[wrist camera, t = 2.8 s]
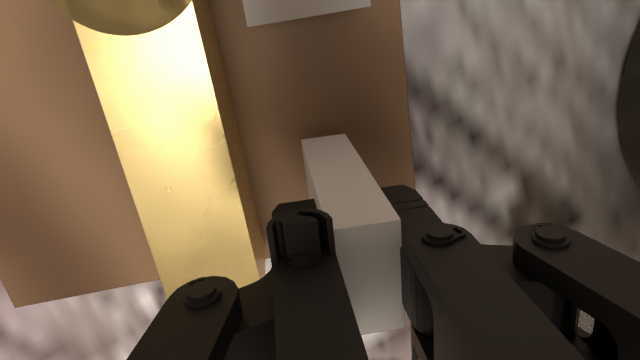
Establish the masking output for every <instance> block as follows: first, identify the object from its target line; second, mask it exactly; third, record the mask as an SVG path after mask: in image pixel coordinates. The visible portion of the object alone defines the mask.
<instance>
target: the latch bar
mask: <svg viewBox="0 0 640 360" xmlns="http://www.w3.org/2000/svg"><path fill="white" fill-rule="evenodd" d="M48 1H49V2H50V3H51V4H52V5H53V6H54V7H55V8H57V9H58V10H59V11H60V12H61V13H63V14H64V15H66V16H67V17H68V18H70V19H71V20H73V23H74V26H75V28H76V31H77V34H78V37H79V40H80V43H81V46H82V49H83V52H84V55H85V58H86V61H87V64H88V67H89V70H90V73H91V76H92V79H93V82H94V84H95V87H96V90H97V93H98V96H99V99H100V102H101V105H102V108H103V111H104V114H105V117H106V120H107V123H108V126H109V129H110V132H111V135H112V137H113V140H114V143H115V146H116V149H117V152H118V155H119V158H120V161H121V164H122V167H123V170H124V173H125V176H126V179H127V182H128V185H129V188H130V190H131V193H132V196H133V199H134V202H135V205H136V208H137V211H138V214H139V217H140V220H141V223H142V226H143V229H144V232H145V235H146V238H147V241H148V244H149V246H150V249H151V252H152V255H153V258H154V261H155V264H156V267H157V270H158V273H159V276H160V279H161V282H162V285H163V288H164V291H165V294H166V297H167V299H168V298H169V296H170V295H171V294H172V293H173V292H174V291H175V290H176V289H177V288H179V287H181V286H182V285H184V284H186V283H187V282H189V281H192V280H194V279H197V278H201V277H209V276H221V277H227V278H229V279H231V280H233V281H234V282H235V284H236V285H237V287H238V288H241V287H244V286H247V285H249V284H251V283H254V282H256V281H258V280H259V279H261V278H262V277H264V276H265V241H264V237H263V233H262V228H261V224H260V220H259V215H258V211H257V207H256V202H255V198H254V193H253V189H252V185H251V180H250V176H249V172H248V167H247V163H246V159H245V154H244V150H243V146H242V141H241V137H240V133H239V128H238V124H237V120H236V115H235V111H234V106H233V102H232V98H231V93H230V89H229V85H228V80H227V76H226V72H225V67H224V63H223V59H222V54H221V50H220V46H219V41H218V37H217V32H216V28H215V24H214V19H213V15H212V11H211V6H210V0H48Z"/></svg>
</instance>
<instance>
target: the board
mask: <svg viewBox="0 0 640 360" xmlns="http://www.w3.org/2000/svg"><path fill="white" fill-rule="evenodd" d="M210 6H211V11H212V15H213V19H214V24H215V28H216V32H217V37H218V41H219V46H220V50H221V54H222V59H223V63H224V67H225V72H226V76H227V80H228V85H229V89H230V93H231V98H232V102H233V106H234V111H235V115H236V120H237V124H238V128H239V133H240V137H241V141H242V146H243V150H244V154H245V159H246V163H247V167H248V172H249V176H250V180H251V185H252V189H253V193H254V198H255V202H256V207H257V211H258V215H259V220H260V224H261V228H262V233H263V237H264V241H265V259H266V258H271V257H270V251H269V245H268V239H267V233H266V226H267V224H268V222H269V221H270V220H271V219H272V212H273V210H274V209H275V208H276V206H277V205H278V204H280V203H287V202H294V201H301V200H307V199H308V194H307V186H306V178H305V170H304V162H303V153H302V145H301V139H309V138H316V137H324V136H331V135H339V134H345V135H346V136H347V138H348V139H349V141H350V142H351V144H352V145H353V147H354V148H355V150H356V152H357V153H358V155H359V156H360V158H361V159H362V161H363V162H364V164H365V165H366V167H367V168H368V170H369V172H370V173H371V175H372V176H373V178H374V179H375V181H376V182H377V184H378V185H379V187H380V188H381V187H388V186H395V185H402V184H403V185H405V186H408V187H410V188H412V189H414V190H415V178H414V166H413V154H412V142H411V130H410V118H409V106H408V94H407V82H406V70H405V58H404V46H403V34H402V22H401V11H400V0H210ZM0 279H1V281H2V283H3V285H4V287H5V289H6V291H7V293H8V295H9V297H10V299H11V301H12V303H13V305H14V307H15V308H17V307H22V306H27V305H32V304H37V303H42V302H47V301H52V300H57V299H62V298H68V297H73V296H78V295H83V294H88V293H93V292H98V291H103V290H108V289H113V288H119V287H124V286H129V285H134V284H139V283H144V282H149V281H154V280H159V279H160V276H159V273H158V270H157V267H156V264H155V261H154V258H153V255H152V252H151V249H150V246H149V244H148V241H147V238H146V235H145V232H144V229H143V226H142V223H141V220H140V217H139V214H138V211H137V208H136V205H135V202H134V199H133V196H132V193H131V190H130V188H129V185H128V182H127V179H126V176H125V173H124V170H123V167H122V164H121V161H120V158H119V155H118V152H117V149H116V146H115V143H114V140H113V137H112V135H111V132H110V129H109V126H108V123H107V120H106V117H105V114H104V111H103V108H102V105H101V102H100V99H99V96H98V93H97V90H96V87H95V84H94V82H93V79H92V76H91V73H90V70H89V67H88V64H87V61H86V58H85V55H84V52H83V49H82V46H81V43H80V40H79V37H78V34H77V31H76V28H75V26H74V23H73V20H71V19H70V18H68V17H67V16H66V15H64V14H63V13H61V12H60V11H59V10H58V9H57V8H55V7H54V6H53V5H52V4H51V3H50V2H49V1H48V0H0Z"/></svg>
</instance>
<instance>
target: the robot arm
mask: <svg viewBox="0 0 640 360" xmlns="http://www.w3.org/2000/svg"><path fill="white" fill-rule="evenodd" d="M619 130H620V138H621V143H622V148H623V152H624V156H625V159H626V161H627V164H628V167H629V169H630V171H631V173H632V175H633V177H634V178H635V180H636V182H637V183H638V185H639V186H640V26H639V28H638V31H637V33H636V36H635V38H634V41H633V43H632V46H631V49H630V52H629V55H628V58H627V62H626V66H625V69H624V74H623V79H622V84H621V91H620V98H619ZM301 145H302V153H303V162H304V170H305V178H306V186H307V194H308V199H307V200H301V201H294V202H287V203H280V204H278V205H277V206H276V208H275V209H274V210H273V212H272V219H271V220H270V221H269V222H268V224H267V226H266V233H267V239H268V245H269V251H270V257H271V263H272V268H271V270H270V271H269V272H268V273H267V274H266V275H265V276H264V277H262V278H261V279H259V280H258V281H256V282H254V283H251V284H249V285H247V286H244V287H241V288H238V287H237V285H236V284H235V282H234V281H233V280H231V279H229V278H227V277H221V276H209V277H201V278H197V279H194V280H192V281H189V282H187V283H186V284H184V285H182V286H181V287H179V288H177V289H176V290H175V291H174V292H173V293H172V294H171V295H170V296H169V298H168V299H167V301H166V302H165V304H164V305H163V307H162V308H161V309H160V311H159V312H158V314H157V315H156V317H155V318H154V320H153V321H152V323H151V324H150V326H149V327H148V329H147V330H146V332H145V333H144V335H143V336H142V338H141V339H140V340H139V342H138V343H137V345H136V346H135V348H134V349H133V351H132V352H131V354H130V355H129V357H128V358H127V360H368V357H367V353H366V350H365V347H364V344H363V340H362V337H361V335H363V334H369V333H375V332H381V331H387V330H393V329H399V328H405V313H404V308H405V310H406V312H407V314H408V316H409V319H410V321H411V346H412V360H419V359H420V360H640V262H638V261H636V260H634V259H632V258H630V257H628V256H626V255H624V254H622V253H620V252H618V251H616V250H614V249H612V248H609V247H607V246H605V245H603V244H601V243H599V242H597V241H595V240H593V239H591V238H589V237H587V236H585V235H583V234H581V233H579V232H577V231H574V230H572V229H569V228H566V227H563V226H558V225H554V224H551V223H544V224H543V223H537V224H533V225H527V226H524V227H522V228H520V229H518V230H517V231H516V233H515V234H514V240H513V246H503V245H482V244H480V243H479V242H478V241H477V240H476V239H475V238H474V236H473V235H472V234H471V233H470V232H468V231H467V230H465V229H464V228H462V227H459V226H456V225H453V224H446V223H443V222H442V221H441V220H440V219H439V217H438V216H437V215H436V214H435V213H434V211H433V210H432V209H431V208H430V207H428V204H427V203H426V202H425V201H424V200H423V198H422V197H421V196H420V195H419V193H418V192H417V191H416V190H414V189H412V188H410V187H408V186H405V185H403V184H402V185H395V186H388V187H381V188H380V187H379V185H378V184H377V182H376V181H375V179H374V178H373V176H372V175H371V173H370V172H369V170H368V168H367V167H366V165H365V164H364V162H363V161H362V159H361V158H360V156H359V155H358V153H357V152H356V150H355V148H354V147H353V145H352V144H351V142H350V141H349V139H348V138H347V136H346V135H345V134H339V135H331V136H324V137H316V138H309V139H301ZM580 309H581V310H582V311H584V312H585V313H587V314H588V315H590V316H591V317H593V318H594V319H595V321H594V327H593V332H592V334H589V333H587V332H585V331H584V330H582V329H581V328H579V327H578V321H579V314H580Z"/></svg>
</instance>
